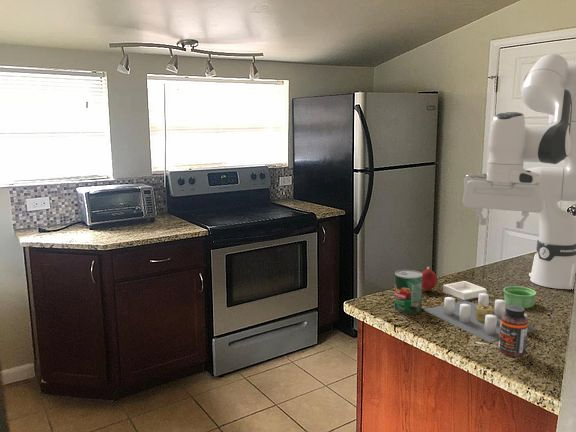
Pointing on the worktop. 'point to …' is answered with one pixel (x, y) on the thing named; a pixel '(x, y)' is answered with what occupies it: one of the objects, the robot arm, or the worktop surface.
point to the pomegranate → (428, 279)
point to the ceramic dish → (463, 290)
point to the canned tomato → (408, 291)
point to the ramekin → (519, 296)
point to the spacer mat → (473, 316)
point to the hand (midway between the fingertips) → (500, 226)
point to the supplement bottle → (513, 331)
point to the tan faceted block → (482, 312)
